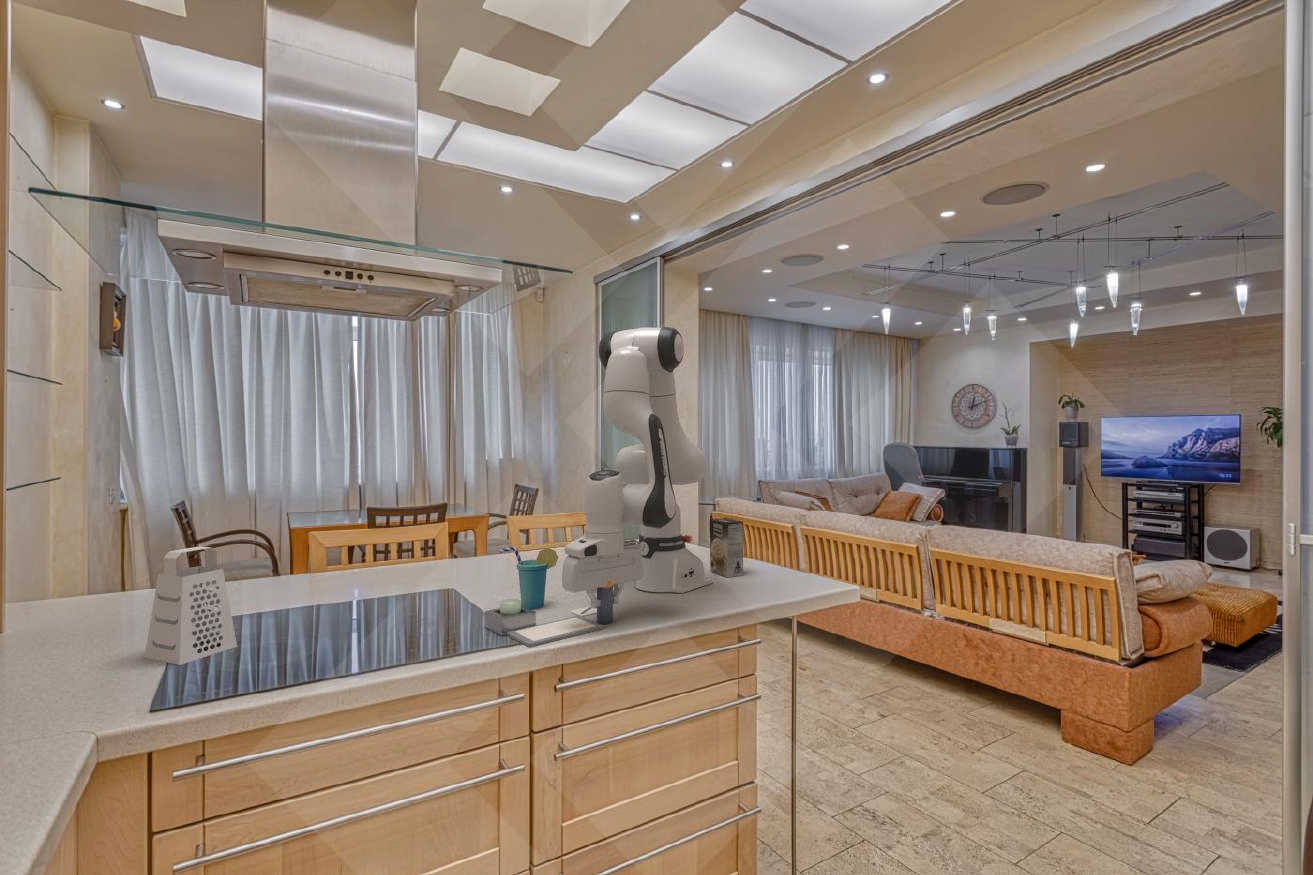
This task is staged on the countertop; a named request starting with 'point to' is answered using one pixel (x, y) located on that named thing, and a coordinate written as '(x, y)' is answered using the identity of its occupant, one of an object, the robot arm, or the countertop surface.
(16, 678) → the countertop surface
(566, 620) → the board
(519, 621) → the button housing
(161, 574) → the grater
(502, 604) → the button
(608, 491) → the robot arm
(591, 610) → the card
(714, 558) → the coffee box
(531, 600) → the cup
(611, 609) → the orange capped blue bottle
